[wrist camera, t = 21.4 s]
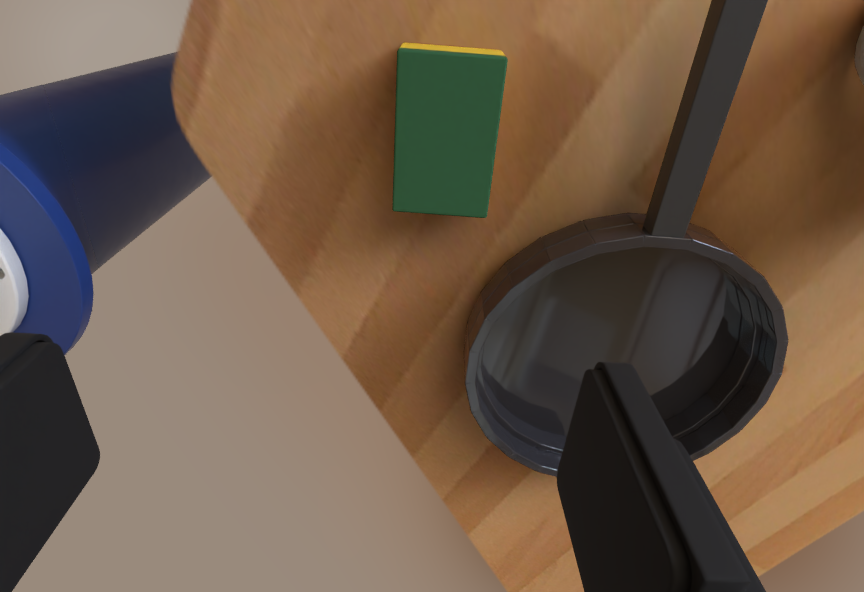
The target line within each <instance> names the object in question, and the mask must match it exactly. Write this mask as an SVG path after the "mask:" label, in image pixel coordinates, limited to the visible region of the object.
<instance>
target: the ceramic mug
mask: <svg viewBox="0 0 864 592" xmlns="http://www.w3.org/2000/svg"><path fill="white" fill-rule="evenodd" d="M854 58H855V67H856V70H857V73H858V75H859V78H860V80H861V82H862V84H863V85H864V26H863V28H862V31H861V33H860V35H859V38H858V40H857V43H856V50H855V57H854Z"/></svg>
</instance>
